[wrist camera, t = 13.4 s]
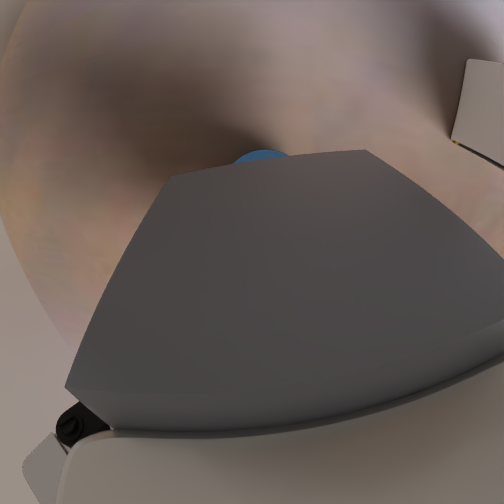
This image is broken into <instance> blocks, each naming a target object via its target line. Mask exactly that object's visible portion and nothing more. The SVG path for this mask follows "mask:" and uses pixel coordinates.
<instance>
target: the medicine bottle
mask: <svg viewBox="0 0 504 504" xmlns="http://www.w3.org/2000/svg"><path fill="white" fill-rule="evenodd" d="M451 141H452V142H453V143H455V144H457V145H459V146H461V147H463V148H465V149H467V150H468V151H470V152H472V153H474V154H476V155H478V156H479V157H481V158H483V159H485V160H487V161H488V162H490V163H492V164H493V165H495V166H497V167H498V168H500V169H502V170H503V171H504V63H499V62H493V61H485V60H477V59H468V60H467V61H466V68H465V74H464V81H463V86H462V92H461V97H460V102H459V106H458V111H457V115H456V119H455V123H454V127H453V131H452V135H451Z"/></svg>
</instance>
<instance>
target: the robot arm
mask: <svg viewBox="0 0 504 504" xmlns="http://www.w3.org/2000/svg"><path fill="white" fill-rule="evenodd" d="M22 468H23V474H24V477H25V479H26V481H27V483H28V484H29V486H30V488H31V490H32V491H33V493H34V495H35V496H36V498H37V500H38V501H39V503H40V504H504V355H502V356H499V357H497V358H494V359H492V360H490V361H488V362H486V363H484V364H482V365H480V366H478V367H476V368H474V369H472V370H469V371H467V372H465V373H463V374H461V375H459V376H456V377H454V378H452V379H450V380H447V381H445V382H443V383H440V384H438V385H435V386H433V387H430V388H428V389H425V390H422V391H420V392H417V393H414V394H411V395H409V396H406V397H403V398H400V399H397V400H394V401H390V402H387V403H384V404H381V405H377V406H374V407H370V408H367V409H363V410H359V411H355V412H351V413H347V414H343V415H338V416H334V417H329V418H324V419H319V420H314V421H308V422H302V423H296V424H289V425H282V426H274V427H266V428H256V429H244V430H229V431H153V430H136V429H113V428H112V427H111V426H109V425H108V424H107V423H105V422H104V421H103V420H102V419H100V418H99V417H98V416H97V415H95V414H94V413H93V412H92V411H91V410H89V409H88V408H87V407H86V406H85V405H84V404H83V403H81V402H80V401H79V402H78V403H76V404H75V405H74V406H72V407H71V408H69V409H68V410H67V411H65V412H64V413H63V414H62V415H61V416H60V418H59V419H58V421H57V425H56V433H55V434H54V433H52V432H51V433H50V434H49V435H48V436H47V437H46V438H45V439H44V440H43V441H42V442H41V443H40V444H39V445H38V446H37V447H36V448H35V449H34V450H33V451H32V452H31V453H30V454H29V455H28V456H27V457H26V459H25V460H24V462H23V466H22Z"/></svg>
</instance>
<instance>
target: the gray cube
mask: <svg viewBox="0 0 504 504" xmlns="http://www.w3.org/2000/svg"><path fill="white" fill-rule="evenodd" d="M502 355H504V259H503V258H502V257H501V256H500V255H499V254H498V253H497V252H496V251H495V250H494V249H493V248H492V247H491V246H490V245H489V244H488V243H487V242H486V241H485V240H484V239H482V238H481V237H480V236H479V235H478V234H477V233H476V232H475V231H474V230H473V229H472V228H471V227H469V226H468V225H467V224H466V223H465V222H464V221H463V220H461V219H460V218H459V217H458V216H457V215H456V214H454V213H453V212H452V211H451V210H450V209H448V208H447V207H446V206H445V205H443V204H442V203H441V202H440V201H438V200H437V199H436V198H435V197H433V196H432V195H431V194H429V193H428V192H427V191H425V190H424V189H423V188H421V187H420V186H419V185H417V184H416V183H415V182H413V181H412V180H410V179H409V178H408V177H406V176H405V175H403V174H402V173H400V172H399V171H398V170H396V169H395V168H393V167H392V166H390V165H389V164H387V163H386V162H384V161H383V160H381V159H379V158H378V157H376V156H375V155H373V154H371V153H370V152H368V151H367V150H350V151H336V152H324V153H313V154H303V155H294V156H285V157H277V158H269V159H262V160H255V161H248V162H242V163H235V164H229V165H223V166H217V167H212V168H206V169H201V170H196V171H191V172H186V173H181V174H176V175H172V176H170V177H169V179H168V180H167V182H166V183H165V185H164V186H163V188H162V189H161V191H160V192H159V194H158V196H157V197H156V199H155V200H154V202H153V204H152V205H151V207H150V209H149V210H148V212H147V213H146V215H145V217H144V218H143V220H142V222H141V224H140V225H139V227H138V229H137V230H136V232H135V234H134V236H133V237H132V239H131V241H130V243H129V245H128V246H127V248H126V250H125V252H124V254H123V256H122V257H121V259H120V261H119V263H118V265H117V267H116V269H115V271H114V273H113V275H112V277H111V278H110V280H109V282H108V284H107V287H106V289H105V291H104V293H103V295H102V297H101V299H100V301H99V303H98V305H97V307H96V310H95V312H94V314H93V316H92V318H91V321H90V323H89V325H88V328H87V330H86V332H85V335H84V337H83V339H82V342H81V344H80V347H79V349H78V352H77V354H76V357H75V359H74V362H73V365H72V367H71V370H70V373H69V375H68V378H67V381H66V384H65V388H66V389H67V390H68V391H69V392H70V393H71V394H72V395H74V396H75V397H76V398H77V399H78V400H79V401H80V402H81V403H83V404H84V405H85V406H86V407H87V408H88V409H89V410H91V411H92V412H93V413H94V414H95V415H97V416H98V417H99V418H100V419H102V420H103V421H104V422H105V423H107V424H108V425H109V426H111V427H112V428H113V429H136V430H153V431H229V430H244V429H256V428H266V427H274V426H282V425H289V424H296V423H302V422H308V421H314V420H319V419H324V418H329V417H334V416H338V415H343V414H347V413H351V412H355V411H359V410H363V409H367V408H370V407H374V406H377V405H381V404H384V403H387V402H390V401H394V400H397V399H400V398H403V397H406V396H409V395H411V394H414V393H417V392H420V391H422V390H425V389H428V388H430V387H433V386H435V385H438V384H440V383H443V382H445V381H447V380H450V379H452V378H454V377H456V376H459V375H461V374H463V373H465V372H467V371H469V370H472V369H474V368H476V367H478V366H480V365H482V364H484V363H486V362H488V361H490V360H492V359H494V358H497V357H499V356H502Z"/></svg>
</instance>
